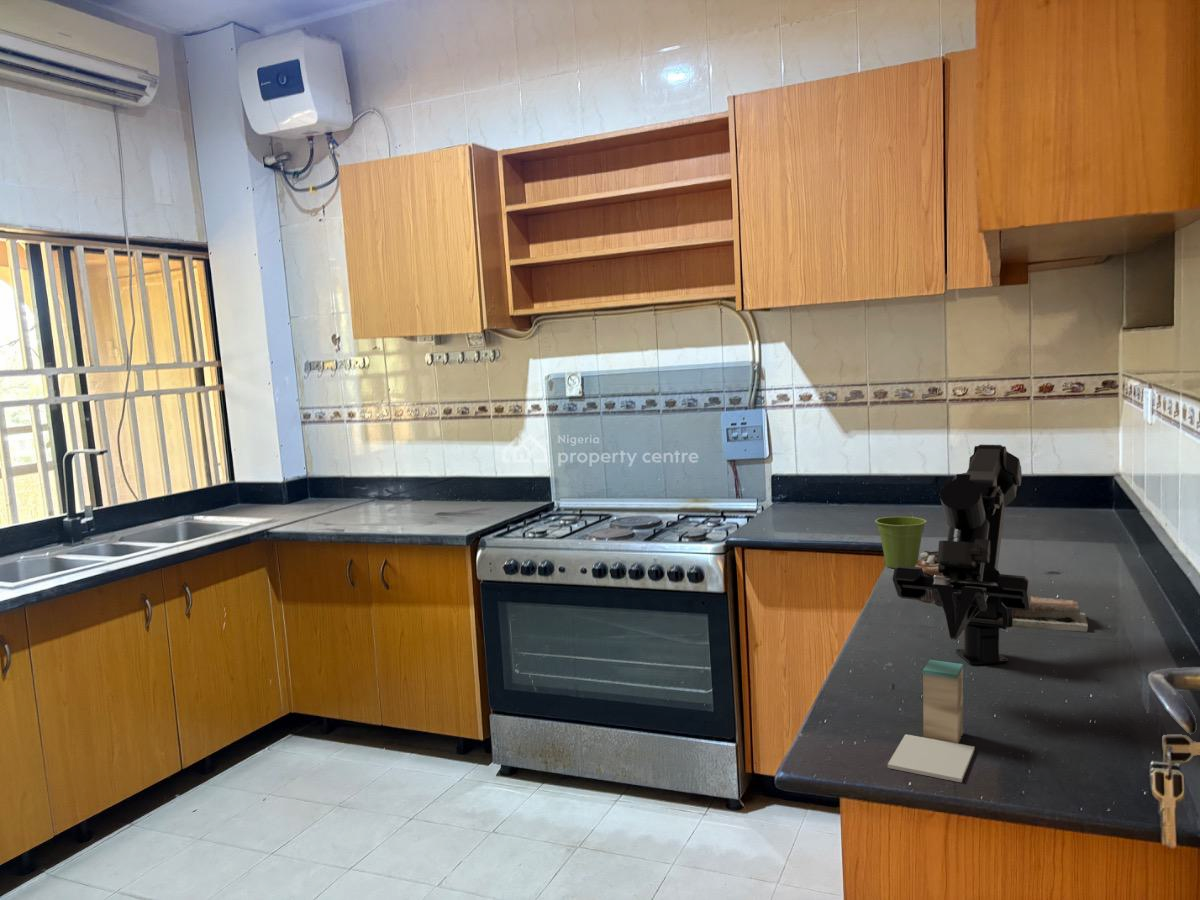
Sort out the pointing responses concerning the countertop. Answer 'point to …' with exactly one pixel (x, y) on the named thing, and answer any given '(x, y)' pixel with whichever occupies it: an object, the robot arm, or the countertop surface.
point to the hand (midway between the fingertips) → (953, 638)
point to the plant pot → (900, 540)
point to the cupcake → (929, 571)
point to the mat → (932, 758)
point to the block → (943, 701)
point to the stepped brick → (1051, 615)
